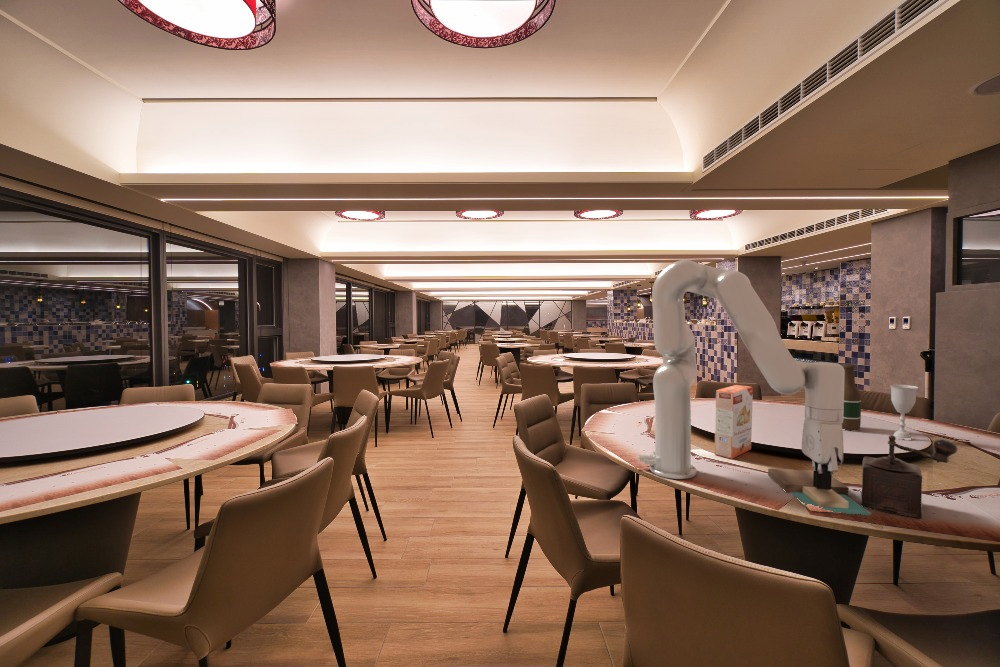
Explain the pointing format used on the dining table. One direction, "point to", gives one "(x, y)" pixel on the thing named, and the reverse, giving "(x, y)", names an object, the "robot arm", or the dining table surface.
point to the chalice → (903, 404)
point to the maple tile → (825, 497)
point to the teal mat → (852, 508)
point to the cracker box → (733, 421)
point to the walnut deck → (801, 480)
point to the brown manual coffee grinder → (898, 479)
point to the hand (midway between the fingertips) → (822, 487)
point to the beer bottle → (851, 400)
